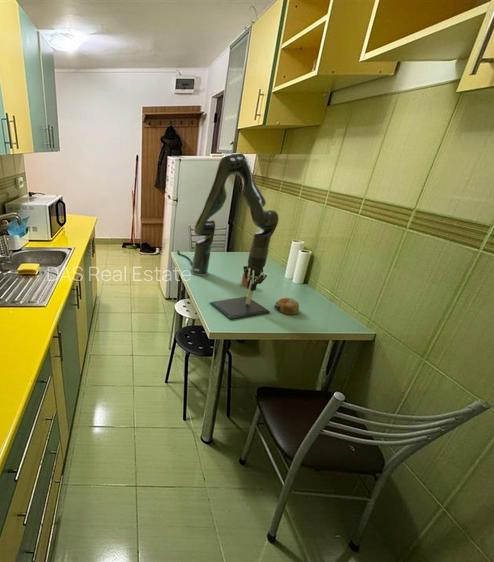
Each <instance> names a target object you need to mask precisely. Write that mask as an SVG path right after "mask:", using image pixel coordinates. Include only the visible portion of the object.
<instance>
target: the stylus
mask: <svg viewBox="0 0 494 562" xmlns="http://www.w3.org/2000/svg"><path fill="white" fill-rule="evenodd" d="M252 280H253V279H251V280H250V285H249V289H248V290H247V295H246V297H247V299H246V304H247V305H249V304H250V302H251V300H252V296H253V292H254V291H251V290H250V289H251V285H252Z"/></svg>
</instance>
